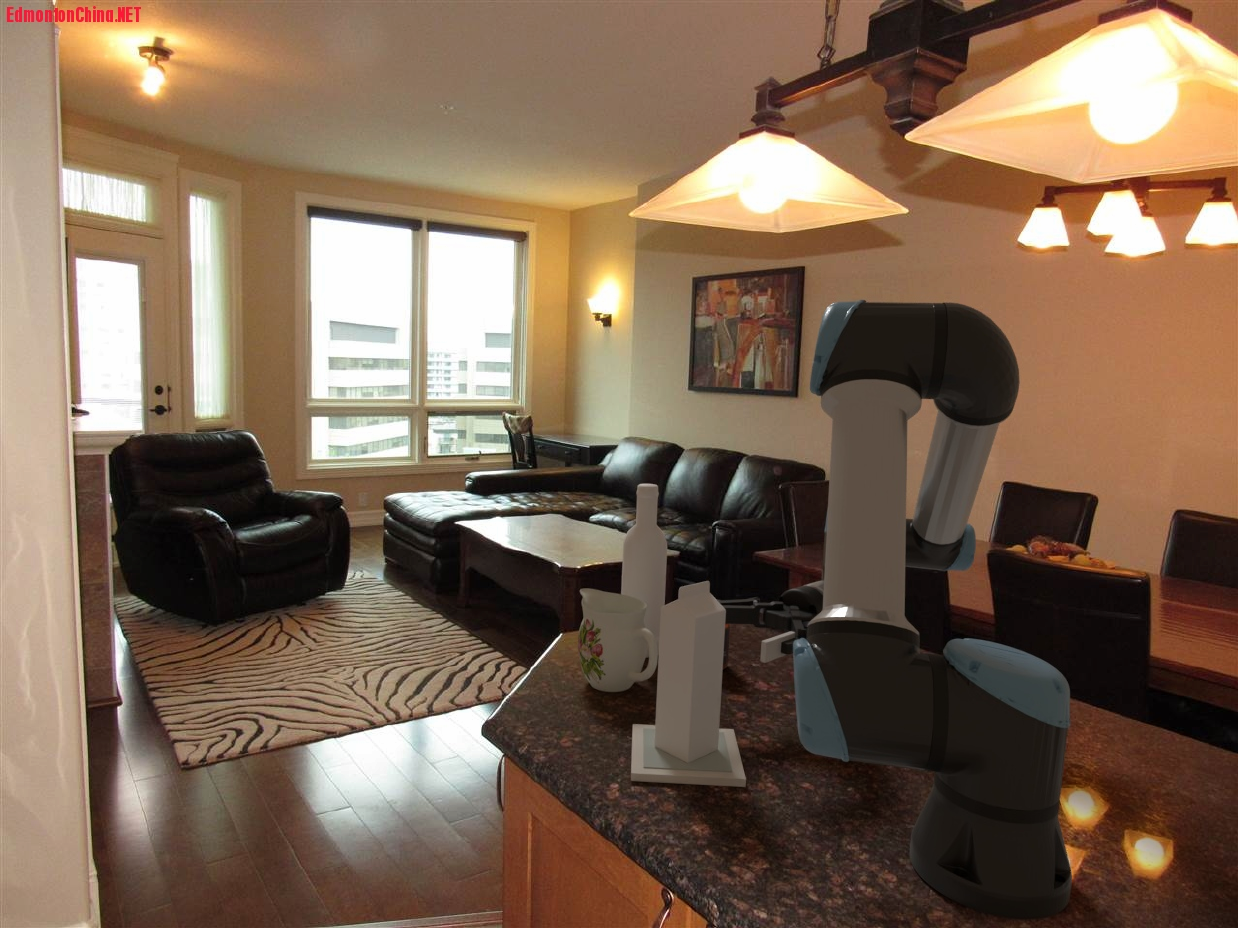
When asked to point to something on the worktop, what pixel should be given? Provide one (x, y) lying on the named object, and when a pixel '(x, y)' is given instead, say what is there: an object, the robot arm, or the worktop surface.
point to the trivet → (666, 768)
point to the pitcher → (614, 641)
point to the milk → (690, 674)
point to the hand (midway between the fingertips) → (721, 638)
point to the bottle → (646, 559)
